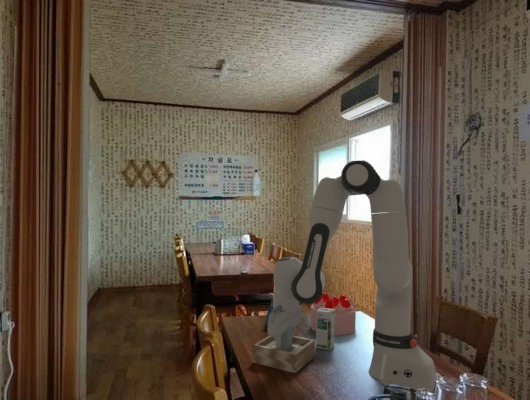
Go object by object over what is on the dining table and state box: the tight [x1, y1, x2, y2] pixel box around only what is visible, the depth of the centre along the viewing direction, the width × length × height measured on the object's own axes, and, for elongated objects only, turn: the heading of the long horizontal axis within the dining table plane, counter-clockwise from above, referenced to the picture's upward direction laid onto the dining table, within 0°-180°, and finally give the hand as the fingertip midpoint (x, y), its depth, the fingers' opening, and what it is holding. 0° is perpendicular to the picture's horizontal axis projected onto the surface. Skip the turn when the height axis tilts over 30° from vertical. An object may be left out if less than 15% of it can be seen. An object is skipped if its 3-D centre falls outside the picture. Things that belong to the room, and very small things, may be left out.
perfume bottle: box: [265, 297, 274, 328], centre depth 175 cm, size 6×6×12 cm
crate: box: [252, 335, 316, 374], centre depth 137 cm, size 16×16×6 cm
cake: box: [309, 292, 357, 337], centre depth 172 cm, size 20×20×14 cm
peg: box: [277, 325, 293, 352], centre depth 137 cm, size 4×4×12 cm
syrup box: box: [315, 308, 335, 352], centre depth 150 cm, size 6×6×14 cm
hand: (284, 342), depth 137 cm, fingers open, 8 cm apart
